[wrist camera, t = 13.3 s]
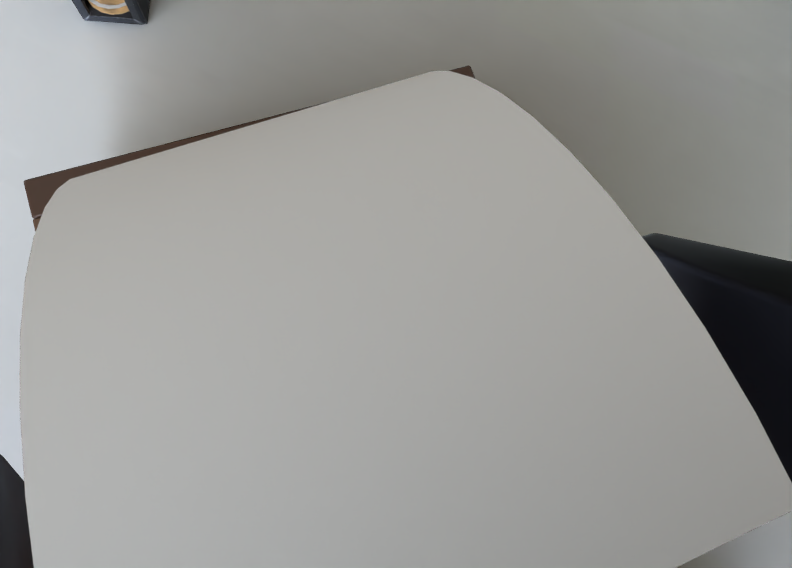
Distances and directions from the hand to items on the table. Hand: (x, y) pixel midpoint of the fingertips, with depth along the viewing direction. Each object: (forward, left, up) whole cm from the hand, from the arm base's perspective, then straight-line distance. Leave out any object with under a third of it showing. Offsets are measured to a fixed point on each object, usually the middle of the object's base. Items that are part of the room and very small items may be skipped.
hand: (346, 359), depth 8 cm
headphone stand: (+1, 0, -8) cm, 8 cm away
